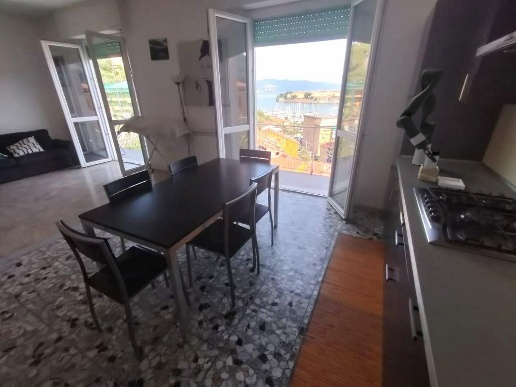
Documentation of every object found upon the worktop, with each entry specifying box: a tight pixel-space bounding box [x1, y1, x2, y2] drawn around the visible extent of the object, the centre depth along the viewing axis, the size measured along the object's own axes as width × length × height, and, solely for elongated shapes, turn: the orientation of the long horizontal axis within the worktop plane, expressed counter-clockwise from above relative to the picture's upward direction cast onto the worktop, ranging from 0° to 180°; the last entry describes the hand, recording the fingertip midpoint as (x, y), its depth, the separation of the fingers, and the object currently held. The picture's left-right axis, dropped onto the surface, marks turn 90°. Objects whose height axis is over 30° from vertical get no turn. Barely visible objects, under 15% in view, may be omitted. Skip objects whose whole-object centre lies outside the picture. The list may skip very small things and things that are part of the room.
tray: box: [436, 175, 466, 191], centre depth 149 cm, size 14×13×2 cm
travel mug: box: [424, 149, 442, 170], centre depth 156 cm, size 6×7×20 cm
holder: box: [417, 164, 440, 183], centre depth 159 cm, size 11×10×8 cm
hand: (435, 160), depth 154 cm, fingers closed on travel mug, 6 cm apart
